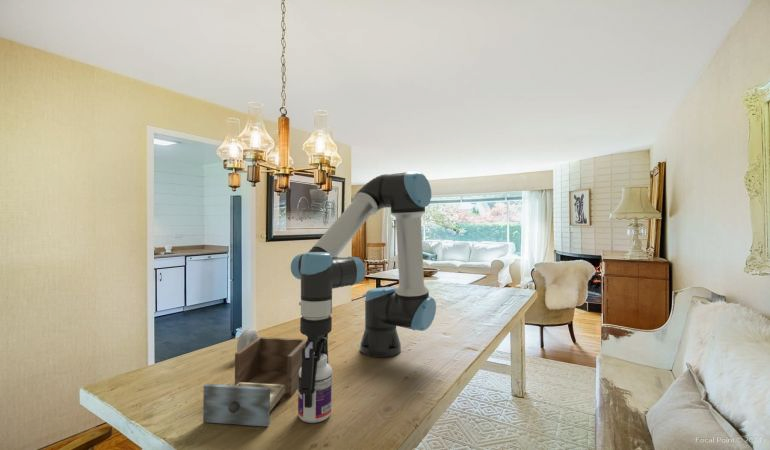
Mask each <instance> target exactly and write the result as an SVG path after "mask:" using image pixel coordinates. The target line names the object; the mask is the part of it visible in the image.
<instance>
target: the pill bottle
mask: <svg viewBox="0 0 770 450" xmlns="http://www.w3.org/2000/svg"><path fill="white" fill-rule="evenodd" d="M314 357H316V356H314ZM301 369H302V367H301V368H300V370H299V386H298V389H297V390H298V395H297V396H298V397H297V398H298V399H297V415H298V418H299V419H300V420H301V421H303V422H304V423H310V424H314V423H315V424H316V423H320V422H323V421H325V420H327V419H328V418H329V417H330V415H331V414H332V409H333V408H332V407H333V406H332V404H333V403H332V398H333V392H332V391H333V368H332V366H331V364H329V362H328V363H327V355H326V354H321V356H320V360H319V361H318V362H317V372H316V381H315V391H316V419H315V421H314V420H303V394H300V392H299V390H300V384H301Z"/></svg>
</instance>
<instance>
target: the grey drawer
mask: <svg viewBox="0 0 770 450" xmlns="http://www.w3.org/2000/svg"><path fill="white" fill-rule="evenodd" d="M284 393H285V385H278V384H261V383H244V382H239V383H238V384H237V385H235V384H234V385H231V384H230V385H229V384H213V383H205V384H204V385H203V400H202V401H203V403H202V405H203V406H202V408H203V409H202V410H203V412H202V414H203V417H202V422H203V423H213V424H225V425H226V424H227V425H228V424H229V425H240V426H252V427H253V426H255V427H269V425H270V424H271V423H270V420H271V418H270V417H271V416H270V414H271V411H272V410H273V409H274V407H275V406H276V405H277V403H278V402H279V401H280V400H281V398H283V397H282V396H283V395H284Z"/></svg>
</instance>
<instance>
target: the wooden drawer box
mask: <svg viewBox="0 0 770 450" xmlns="http://www.w3.org/2000/svg"><path fill="white" fill-rule="evenodd" d="M307 339H308V338H291V337H290V338H288V337H287V338H285V337H267V336H266V337H265V336H263V337H262V336H258V338H257V339H255V340H254V341H252V342H251V343H249V344H248V345H247V346H245V347H244V348H242V349H241V350H239V351H238V352H235V353H234V386H235V385H237V384H238V383H239V382H244V383H261V384H278V385H285V393H284V395H283V396H282V397H281V398H283V397H284V398H292V397H293V395H295V393H296V392H297V390H298V386H299V370H300V368H301V367H302V349H303V348H305V345H306V341H307Z"/></svg>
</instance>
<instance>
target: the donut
mask: <svg viewBox="0 0 770 450" xmlns="http://www.w3.org/2000/svg"><path fill="white" fill-rule="evenodd" d="M258 337H259V334H258V331H257V330H256V329H255V328H252V327H251V328H246V329H245V330H243V331H242V332H241V333H240V335H239V337H238V339H237V342H236V343H237V344H236V351H237V352H238V351H239V350H241V349H242V348H244V347H245V346H247V345H248V344H249V343H251V342H252V341H254V340H255V339H257V338H258ZM237 352H236V353H237Z"/></svg>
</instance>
